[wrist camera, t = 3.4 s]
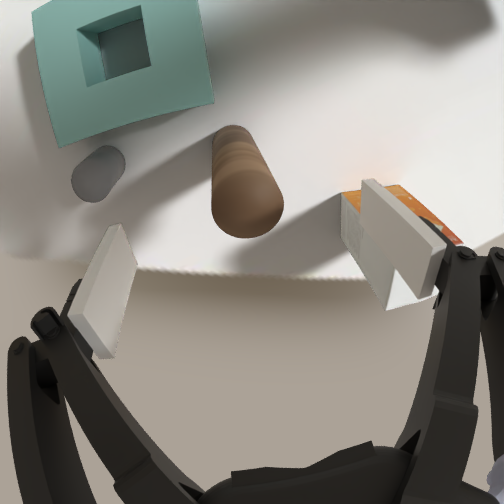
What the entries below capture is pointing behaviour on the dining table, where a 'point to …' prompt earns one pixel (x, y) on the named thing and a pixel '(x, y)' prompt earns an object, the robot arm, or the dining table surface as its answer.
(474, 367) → the robot arm
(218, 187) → the walnut dowel
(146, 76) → the hole block
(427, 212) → the small box
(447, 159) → the dining table surface
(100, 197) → the charcoal dowel
